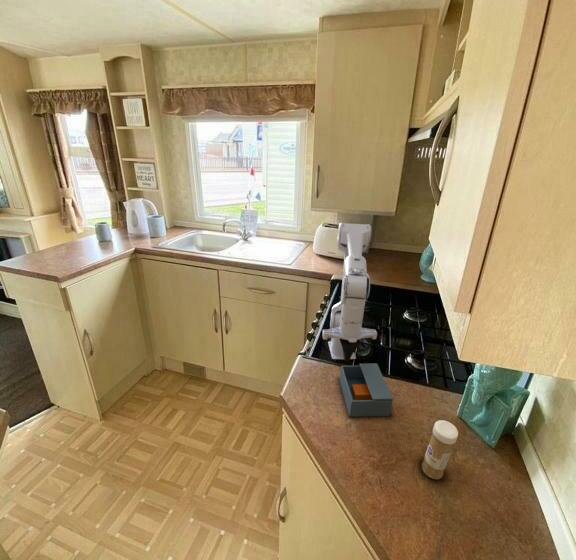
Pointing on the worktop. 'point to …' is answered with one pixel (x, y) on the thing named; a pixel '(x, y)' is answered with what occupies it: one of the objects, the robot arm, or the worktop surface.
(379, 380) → the flap
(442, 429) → the sprinkles bottle
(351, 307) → the robot arm
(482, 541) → the worktop surface
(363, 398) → the packet
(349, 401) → the grey open box
